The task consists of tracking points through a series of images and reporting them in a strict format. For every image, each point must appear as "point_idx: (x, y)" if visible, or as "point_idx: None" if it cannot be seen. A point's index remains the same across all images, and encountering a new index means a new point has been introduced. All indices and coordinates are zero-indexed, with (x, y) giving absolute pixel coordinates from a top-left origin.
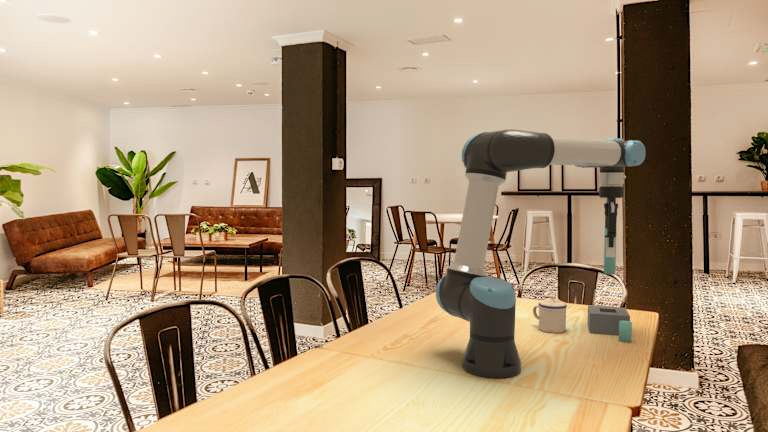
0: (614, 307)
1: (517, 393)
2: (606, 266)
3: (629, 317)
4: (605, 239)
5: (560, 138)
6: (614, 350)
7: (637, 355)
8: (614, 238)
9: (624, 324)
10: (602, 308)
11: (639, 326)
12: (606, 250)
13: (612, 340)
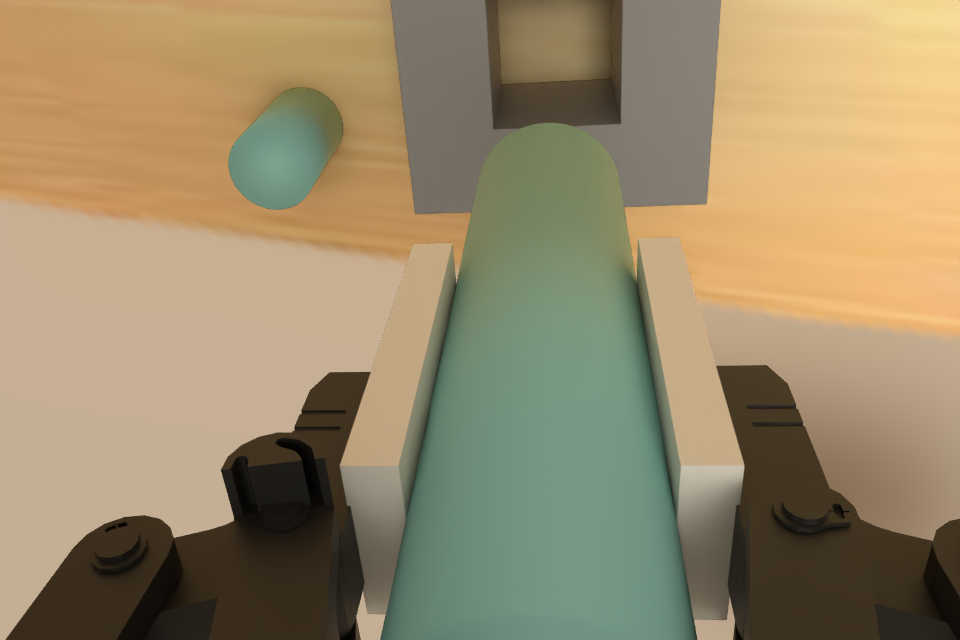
0: (696, 121)
1: None
2: (482, 191)
3: (416, 206)
4: (472, 414)
5: None
6: (53, 48)
7: (35, 167)
8: (366, 585)
9: (231, 156)
10: (625, 16)
11: (717, 242)
12: (395, 304)
13: (275, 47)
